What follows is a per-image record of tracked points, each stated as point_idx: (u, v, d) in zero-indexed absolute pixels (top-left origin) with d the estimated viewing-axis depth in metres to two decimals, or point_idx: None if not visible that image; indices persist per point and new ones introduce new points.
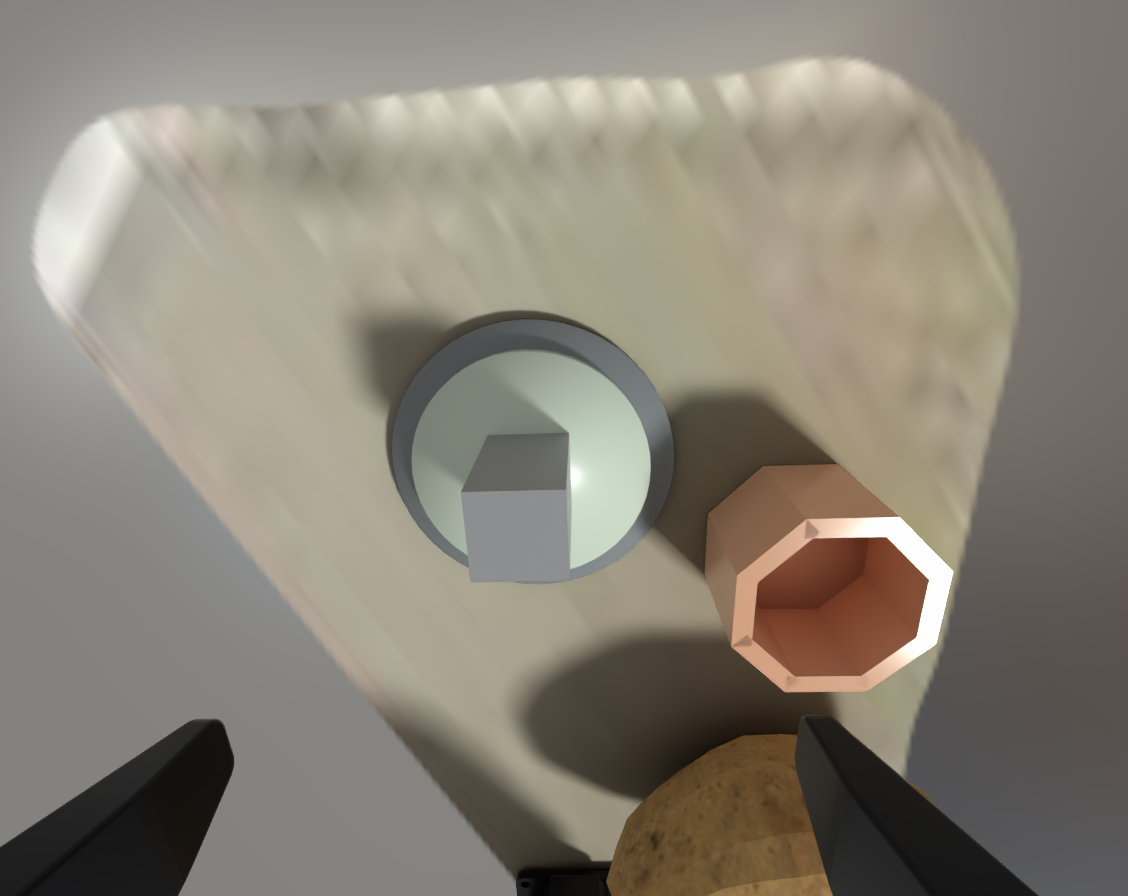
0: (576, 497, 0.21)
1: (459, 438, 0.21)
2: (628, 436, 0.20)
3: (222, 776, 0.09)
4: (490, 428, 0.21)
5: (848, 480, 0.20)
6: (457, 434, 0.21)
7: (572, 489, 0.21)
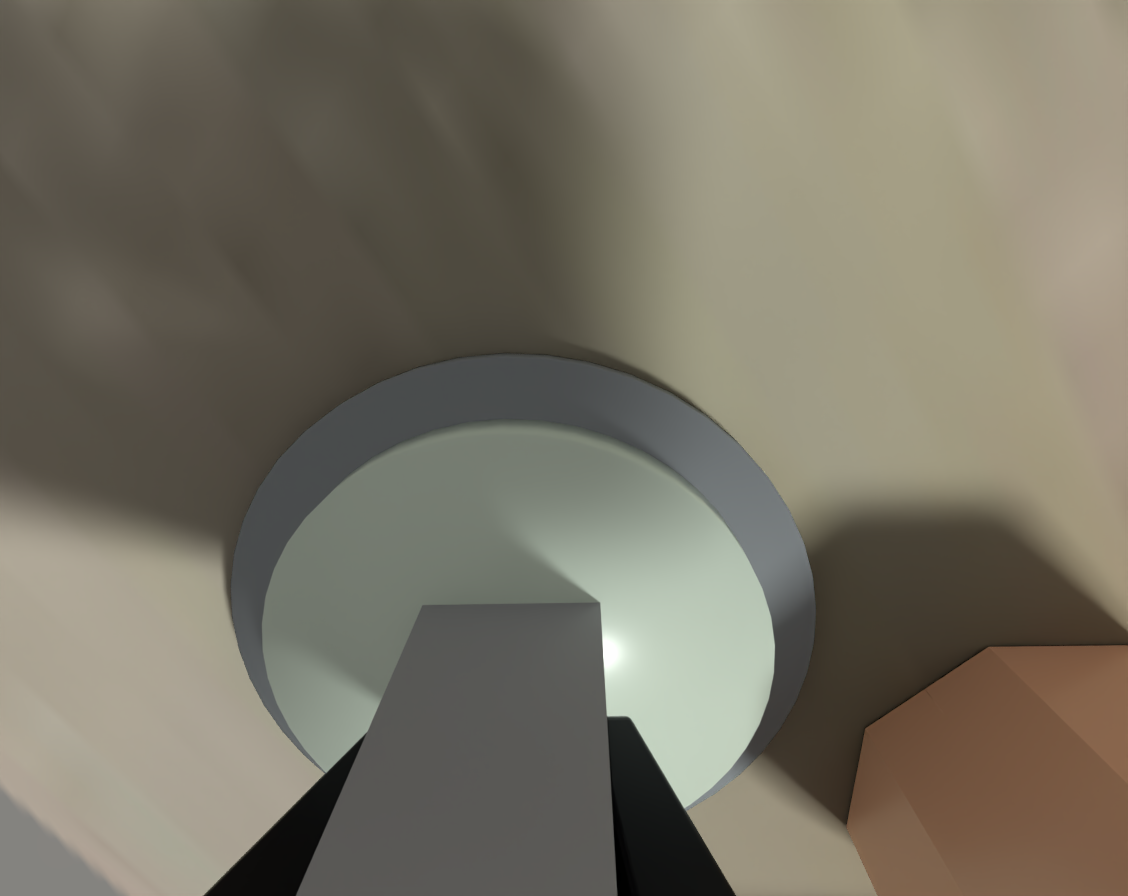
0: None
1: (361, 610, 0.10)
2: (730, 611, 0.09)
3: None
4: (428, 592, 0.09)
5: None
6: (357, 604, 0.09)
7: None
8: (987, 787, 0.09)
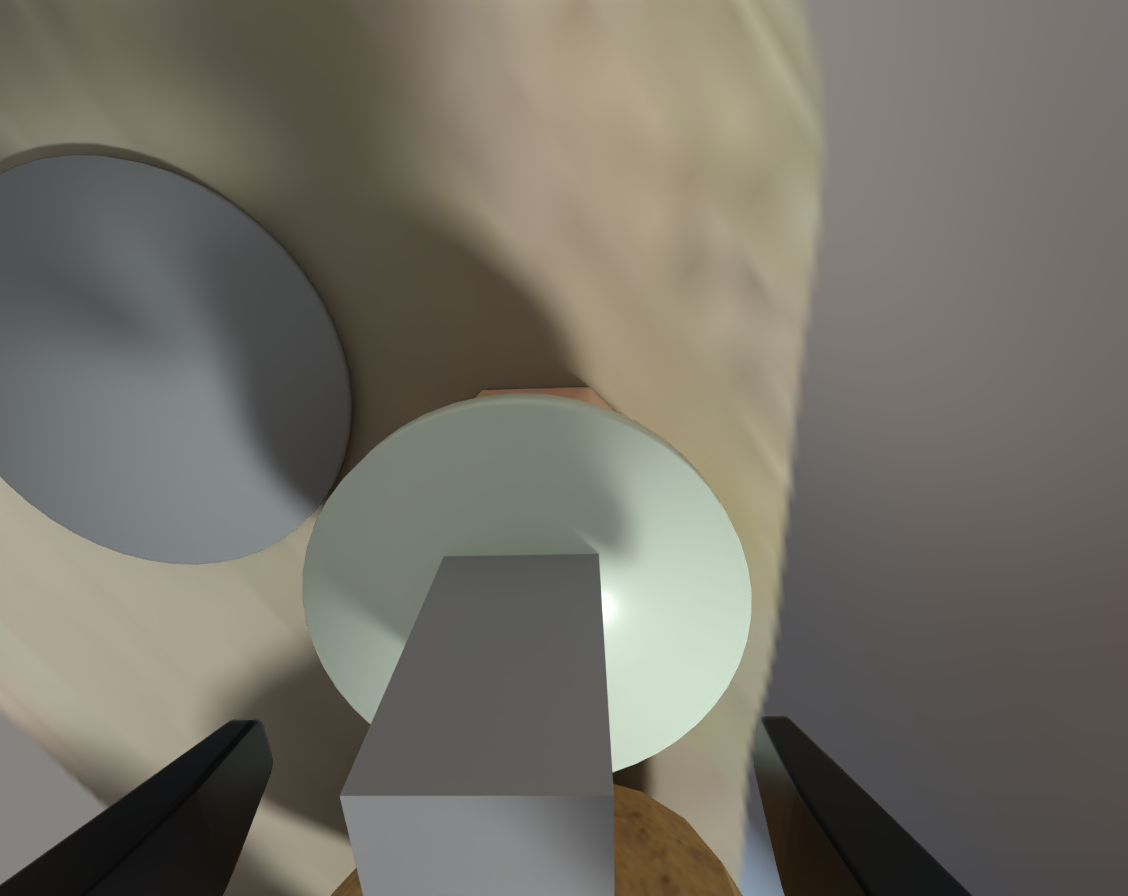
0: (609, 664, 0.12)
1: (390, 561, 0.11)
2: (712, 561, 0.11)
3: (262, 776, 0.09)
4: (449, 544, 0.11)
5: None
6: (386, 555, 0.11)
7: None
8: None
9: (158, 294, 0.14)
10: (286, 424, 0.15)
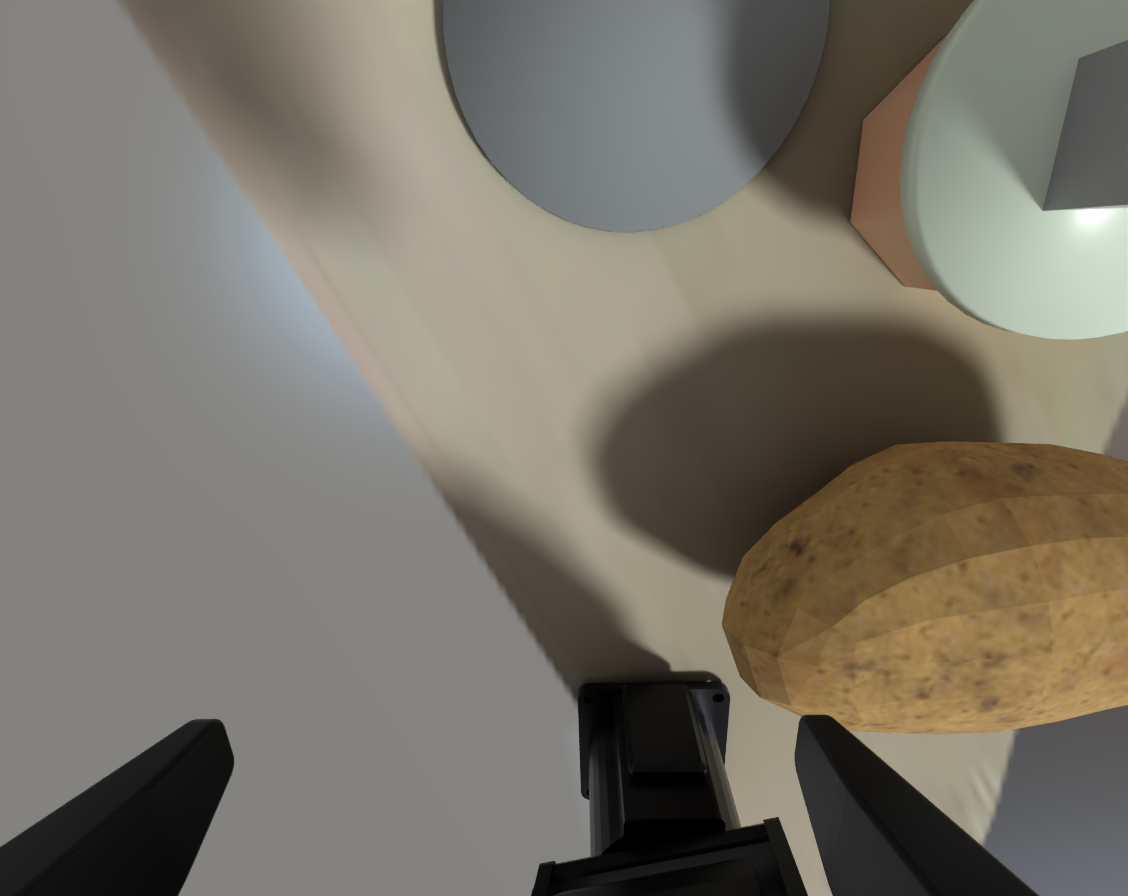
0: None
1: (1026, 65, 0.12)
2: None
3: (222, 776, 0.09)
4: (1088, 43, 0.12)
5: None
6: (1025, 59, 0.12)
7: None
8: None
9: None
10: (762, 68, 0.16)
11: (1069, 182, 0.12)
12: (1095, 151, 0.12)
